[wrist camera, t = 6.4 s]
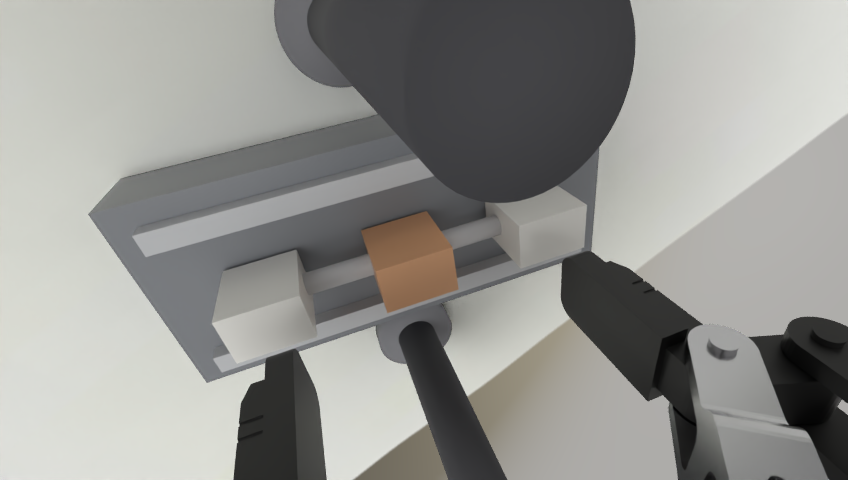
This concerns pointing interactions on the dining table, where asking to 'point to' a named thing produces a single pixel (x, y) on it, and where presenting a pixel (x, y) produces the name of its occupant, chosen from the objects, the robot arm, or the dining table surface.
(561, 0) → the dark grey cylinder
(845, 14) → the dining table surface
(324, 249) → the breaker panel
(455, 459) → the dark grey lever handle
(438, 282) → the white and orange bar
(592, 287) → the robot arm
